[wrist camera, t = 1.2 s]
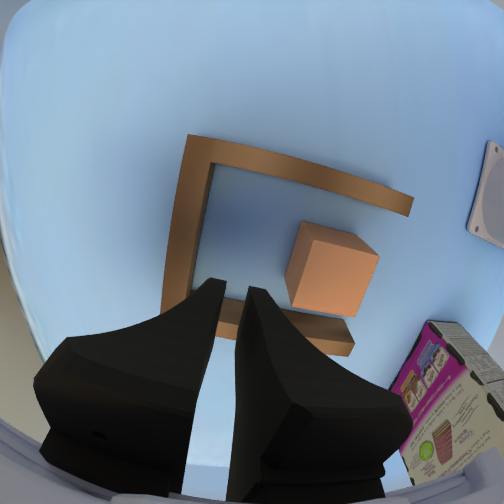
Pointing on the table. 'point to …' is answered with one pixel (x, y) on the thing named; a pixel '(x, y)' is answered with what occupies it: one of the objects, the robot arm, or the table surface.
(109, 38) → the table surface
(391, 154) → the table surface
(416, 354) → the candy bar box
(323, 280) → the cube
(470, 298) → the table surface
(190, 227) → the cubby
